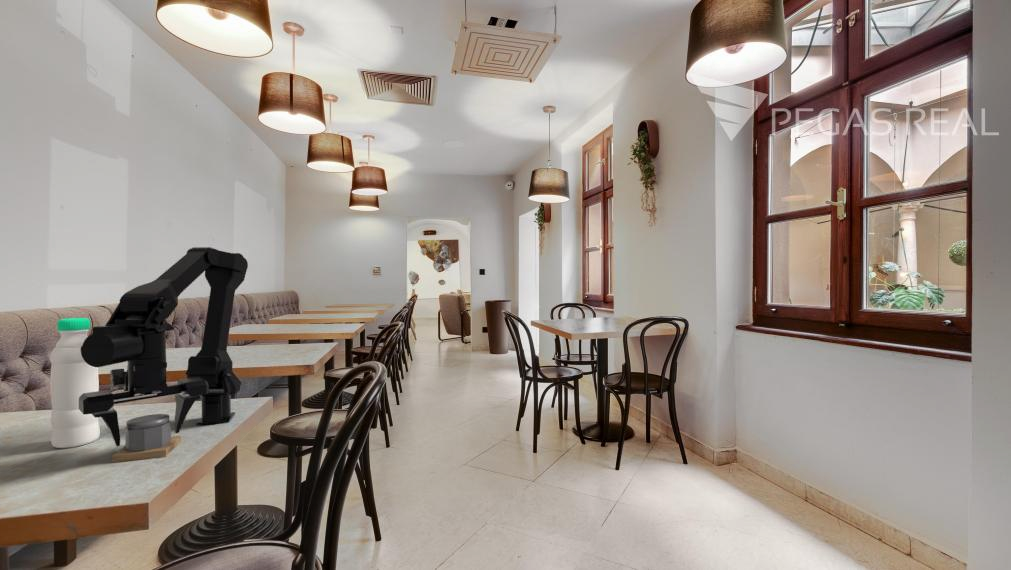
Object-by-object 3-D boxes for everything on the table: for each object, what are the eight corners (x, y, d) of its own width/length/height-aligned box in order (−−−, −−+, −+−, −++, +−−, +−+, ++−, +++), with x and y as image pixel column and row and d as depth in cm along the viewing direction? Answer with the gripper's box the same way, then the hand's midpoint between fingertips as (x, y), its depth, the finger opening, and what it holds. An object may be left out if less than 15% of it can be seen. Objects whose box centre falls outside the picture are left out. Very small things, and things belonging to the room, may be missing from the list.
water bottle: (70, 450, 87) (67, 320, 87) (41, 447, 88) (39, 319, 88) (108, 437, 94) (106, 317, 94) (81, 435, 95) (79, 316, 95)
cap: (155, 450, 83) (154, 423, 83) (117, 452, 83) (117, 425, 83) (177, 438, 90) (176, 413, 90) (142, 439, 89) (142, 414, 89)
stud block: (132, 446, 89) (132, 423, 89) (180, 441, 91) (180, 418, 91) (112, 462, 81) (112, 436, 81) (166, 456, 84) (165, 431, 84)
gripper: (191, 347, 98) (192, 419, 99) (73, 359, 84) (74, 443, 84) (209, 352, 91) (210, 429, 91) (83, 366, 77) (84, 458, 77)
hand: (148, 439), depth 86 cm, fingers open, 9 cm apart
